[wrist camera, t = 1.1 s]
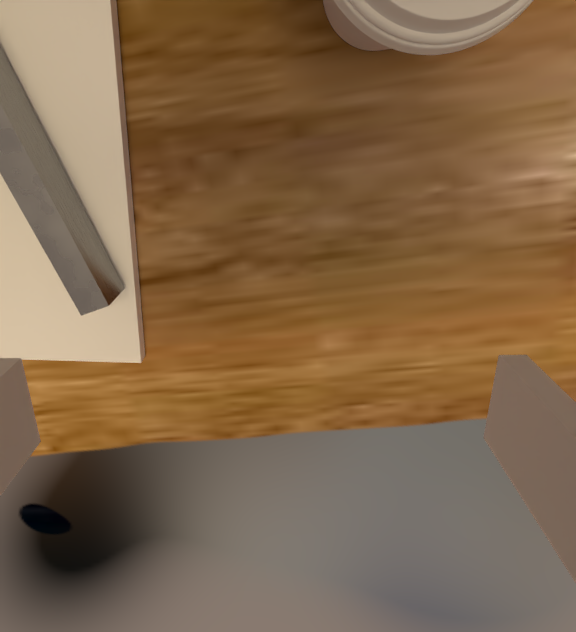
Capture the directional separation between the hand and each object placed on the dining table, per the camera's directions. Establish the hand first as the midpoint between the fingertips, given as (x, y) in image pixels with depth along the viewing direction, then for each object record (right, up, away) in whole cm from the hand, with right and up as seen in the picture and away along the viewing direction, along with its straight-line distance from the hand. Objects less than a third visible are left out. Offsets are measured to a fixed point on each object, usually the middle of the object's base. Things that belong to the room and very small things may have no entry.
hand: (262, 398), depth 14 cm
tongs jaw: (-16, +14, +16) cm, 27 cm away
